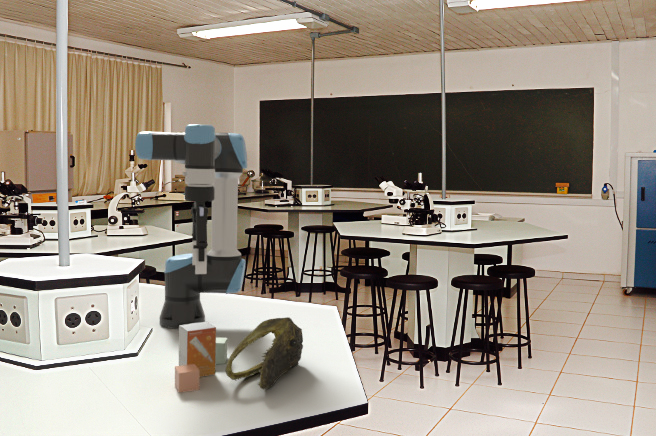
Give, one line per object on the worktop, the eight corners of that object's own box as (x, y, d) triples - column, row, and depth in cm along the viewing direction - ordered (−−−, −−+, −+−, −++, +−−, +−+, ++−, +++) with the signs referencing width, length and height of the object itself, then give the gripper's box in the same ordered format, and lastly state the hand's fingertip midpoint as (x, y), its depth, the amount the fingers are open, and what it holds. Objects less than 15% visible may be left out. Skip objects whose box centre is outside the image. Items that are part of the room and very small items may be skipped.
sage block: (209, 357, 173) (209, 337, 172) (227, 358, 173) (227, 337, 173) (206, 363, 168) (206, 342, 168) (224, 364, 168) (224, 343, 168)
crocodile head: (256, 337, 177) (290, 305, 172) (290, 384, 172) (326, 351, 168) (201, 355, 152) (240, 318, 147) (239, 410, 147) (280, 373, 143)
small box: (186, 380, 156) (186, 331, 154) (178, 372, 161) (178, 324, 159) (216, 374, 160) (216, 326, 159) (206, 367, 165) (207, 320, 164)
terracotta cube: (174, 385, 152) (174, 366, 152) (194, 382, 154) (194, 363, 154) (178, 393, 148) (179, 373, 147) (199, 390, 150) (199, 370, 149)
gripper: (182, 182, 165) (182, 261, 168) (187, 188, 143) (186, 279, 145) (210, 182, 167) (209, 260, 170) (219, 188, 145) (218, 278, 147)
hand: (199, 269), depth 157 cm, fingers open, 11 cm apart
